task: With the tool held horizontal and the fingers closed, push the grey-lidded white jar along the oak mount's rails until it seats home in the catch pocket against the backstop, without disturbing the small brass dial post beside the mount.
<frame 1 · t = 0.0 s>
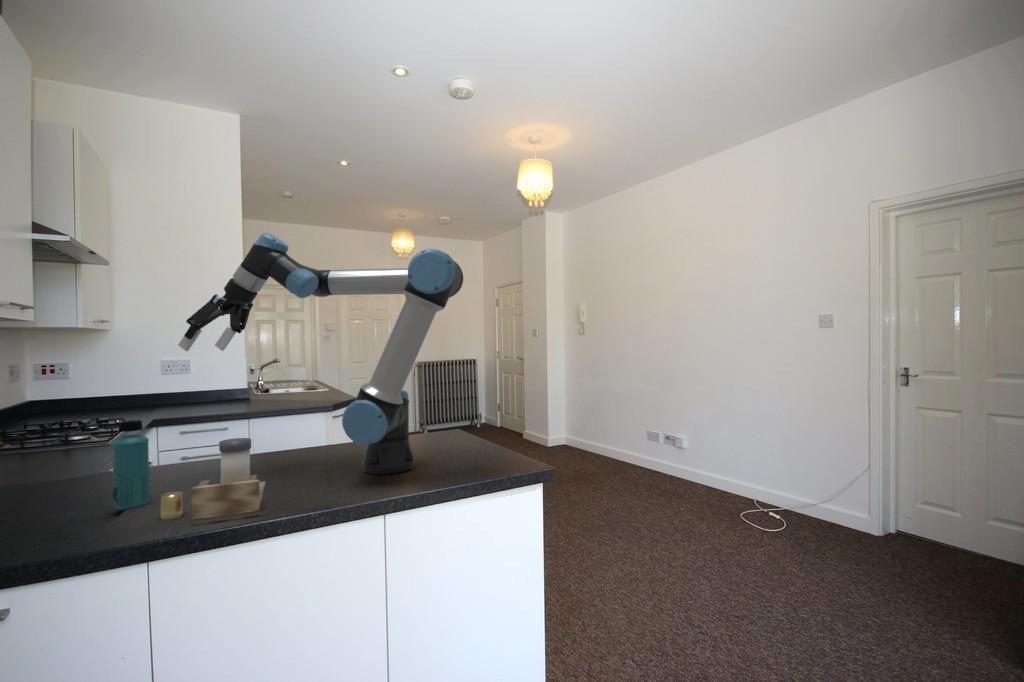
hand: (201, 348, 130), 36 cm above the countertop, tool tilted 35°, fingers open, 13 cm apart
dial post: (171, 523, 97), on the countertop
grey-lidded white jar: (235, 465, 113), point 8 cm above the countertop, slide at 0.0 cm
mount: (233, 504, 108), on the countertop
beverage bottle: (131, 512, 104), on the countertop
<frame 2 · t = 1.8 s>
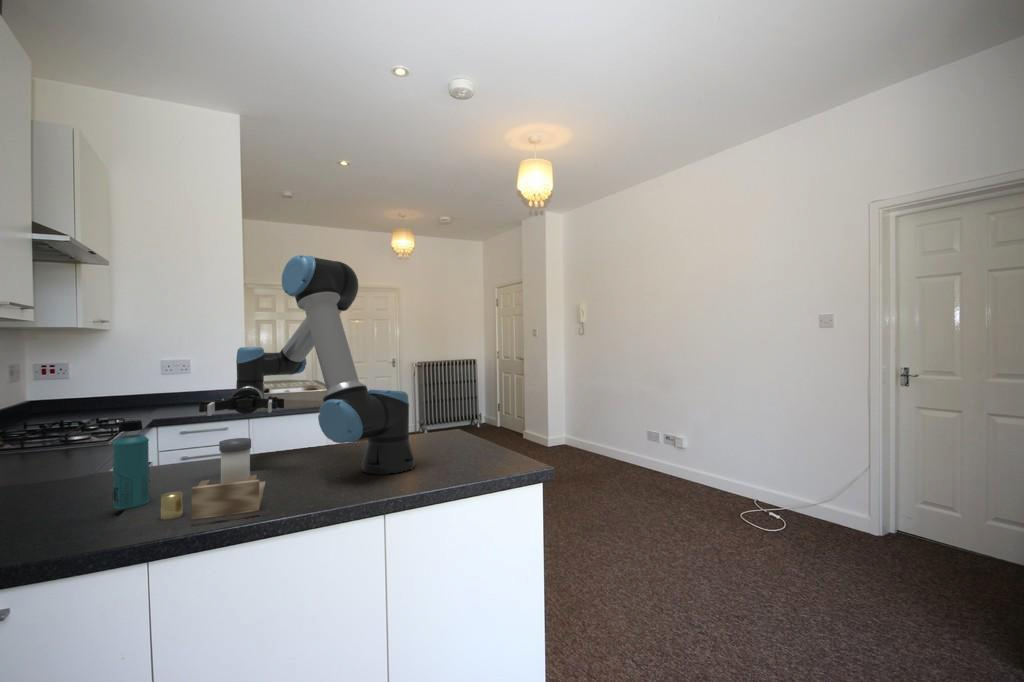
hand: (240, 408, 121), 20 cm above the countertop, tool horizontal, fingers open, 13 cm apart
nothing on the countertop moved.
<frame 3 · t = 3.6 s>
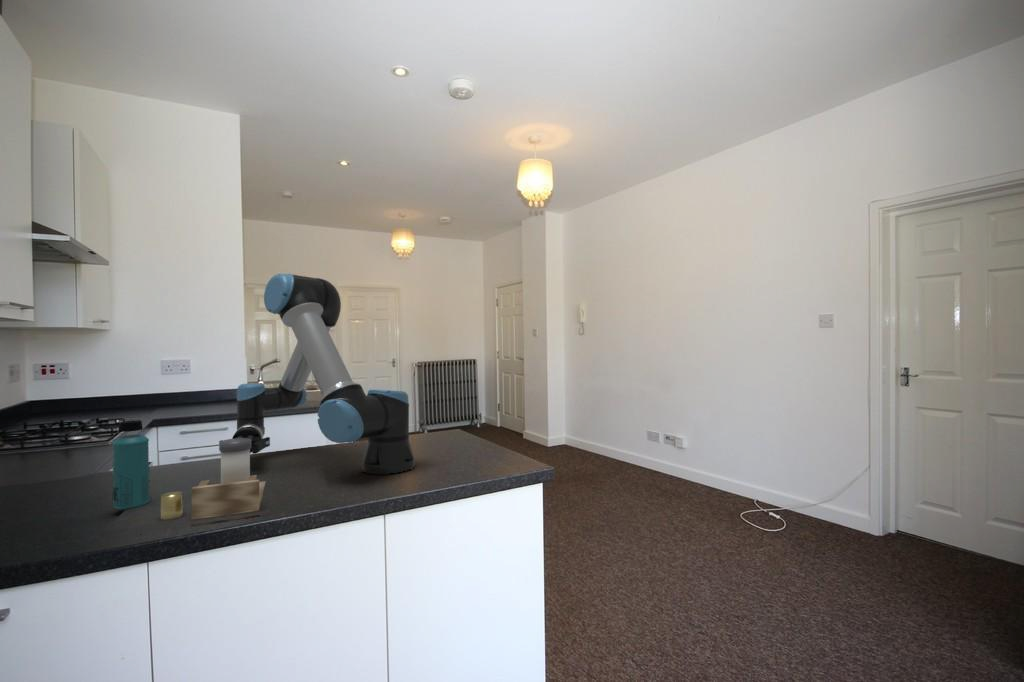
hand: (238, 455, 119), 9 cm above the countertop, tool horizontal, fingers closed
nothing on the countertop moved.
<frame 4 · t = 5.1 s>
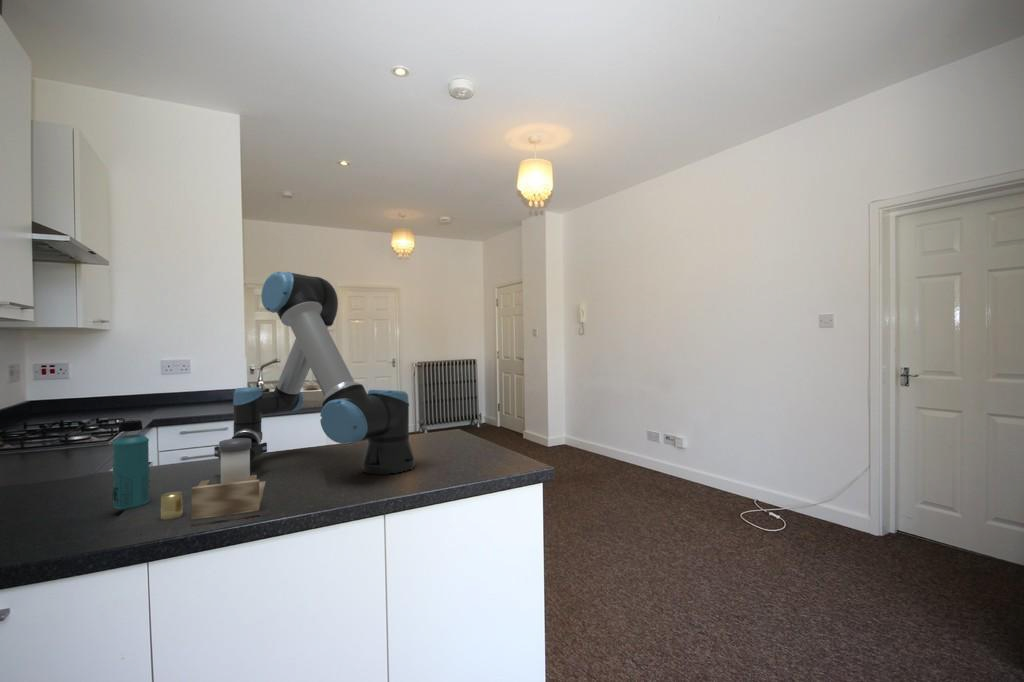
hand: (233, 462, 115), 8 cm above the countertop, tool horizontal, fingers closed
grey-lidded white jar: (235, 465, 113), point 8 cm above the countertop, slide at 0.1 cm, touching gripper
everything else where it was.
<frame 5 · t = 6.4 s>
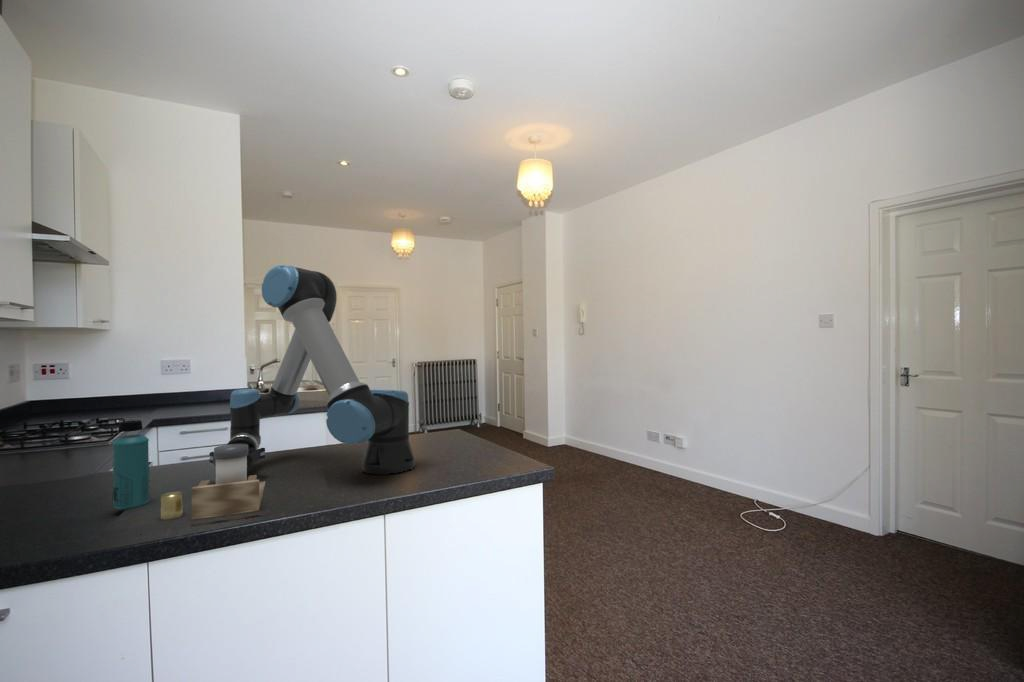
hand: (229, 469, 108), 8 cm above the countertop, tool horizontal, fingers closed
grey-lidded white jar: (231, 473, 106), point 8 cm above the countertop, slide at 7.6 cm, touching gripper
everything else where it was.
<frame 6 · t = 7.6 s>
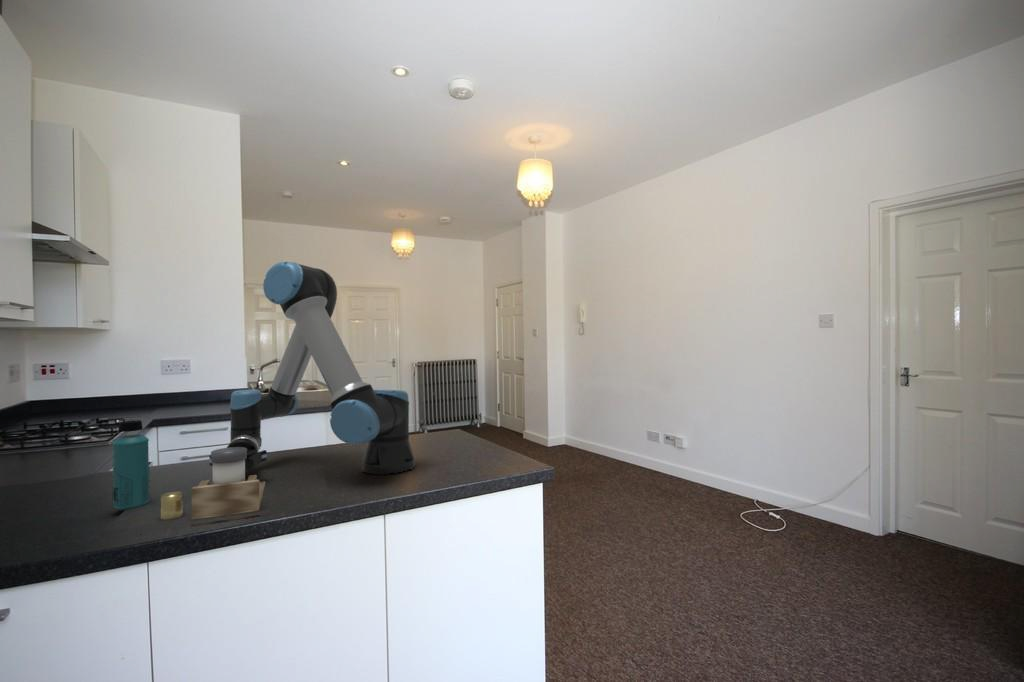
hand: (230, 473, 105), 8 cm above the countertop, tool horizontal, fingers closed
grey-lidded white jar: (229, 478, 102), point 8 cm above the countertop, slide at 11.6 cm, touching gripper
everything else where it was.
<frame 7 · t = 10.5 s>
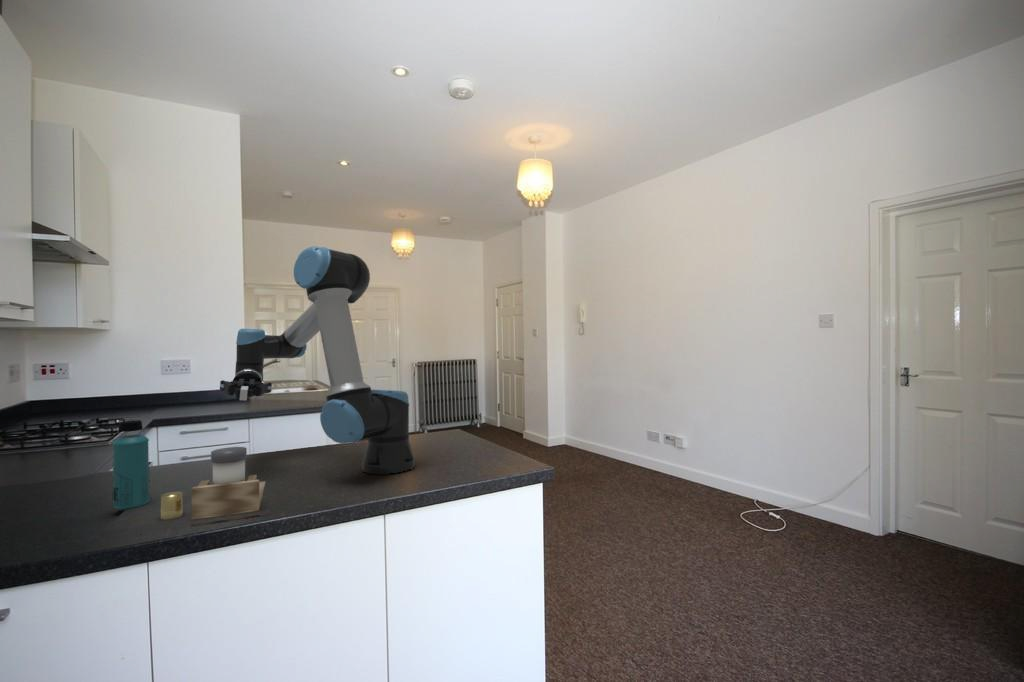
hand: (243, 395, 117), 24 cm above the countertop, tool horizontal, fingers closed
grey-lidded white jar: (229, 477, 102), point 8 cm above the countertop, slide at 11.5 cm
everything else where it was.
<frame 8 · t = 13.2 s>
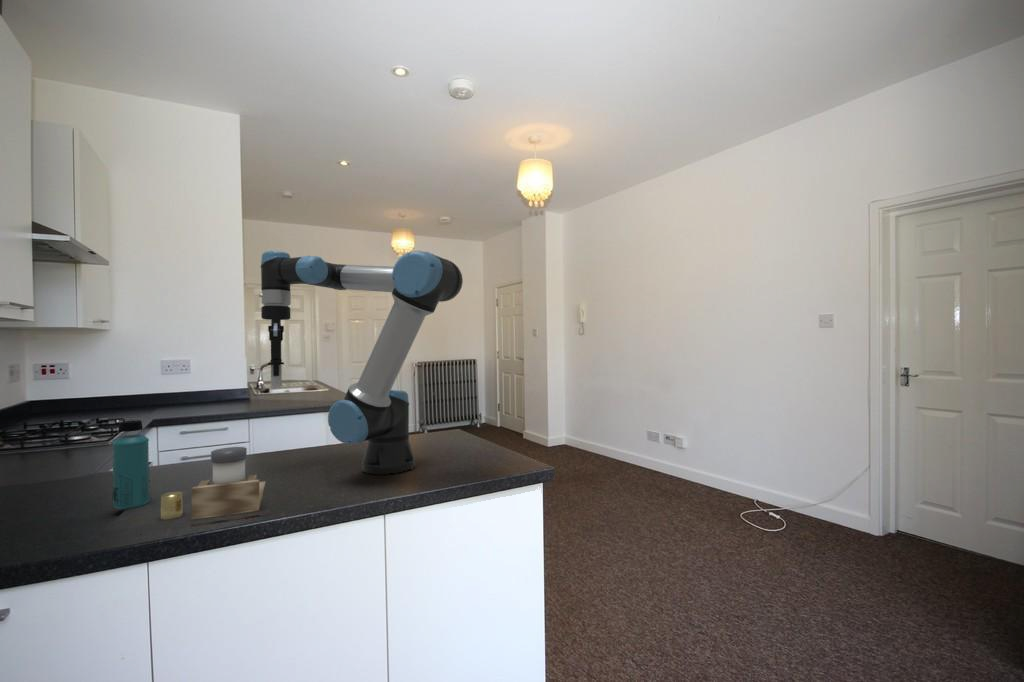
hand: (276, 387, 136), 24 cm above the countertop, tool pointing down, fingers closed
nothing on the countertop moved.
at the end: grey-lidded white jar slide at 11.5 cm; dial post moved 0.0 cm from its start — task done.
